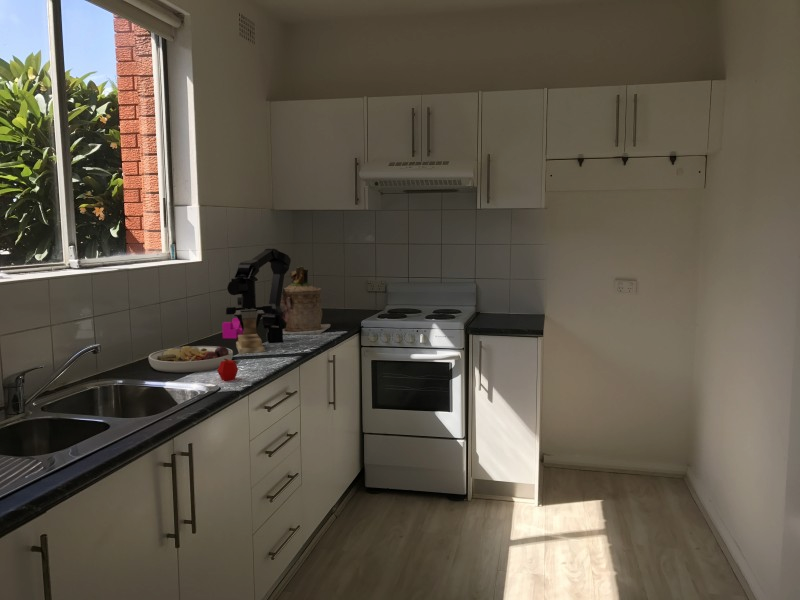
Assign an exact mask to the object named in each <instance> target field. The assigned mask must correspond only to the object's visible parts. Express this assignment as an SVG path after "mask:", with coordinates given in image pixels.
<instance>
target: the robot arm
mask: <svg viewBox="0 0 800 600" xmlns="http://www.w3.org/2000/svg"><path fill="white" fill-rule="evenodd" d="M291 261H292V259H291V257H290V256H289V254H286V253H284V252H281V251H279V250H278V249H277V248H271V247H270V248H265V249H264V251H262V252H260V253H259V254H258V255H256V256H255V257H254V258H252V259H249V260H243V261H241V262H240V263H238V266H237V267H236V271H235V273H234V276H233V277H232V278H230V279H231V280H230V282H228V284H227V292H228V293H229V294H230V295H231V296H239V295H241V297H237V299H236V301H237V307H236V305H231V306H230V305H227V306H226V307H225V314H226V315H233V316H234V317H236V318H238V320H239V321H240V324H241V327H242V330H244V326H243V314H242V313H247V312H248V313H249V312H256V317H255V318H256V331H257V330H258V327H259V325H260V322H261V321H262V325H263V328H264V329H267V331H266V342H268V344H280V343H284V334H283V329H285V328H286V325H287V323H286V322H285V320H284V319H283V313H284V312H283V311H282V308H281V305H280V302H281V301H282V291H283V289H284V288H283V287H284V279H285V275H286V274H287V272H288V271H289V270H290V266H291V263H292V262H291ZM267 263H270V269H271V271H272V279H271V287H270V293H269V298H268V299H269V300H268V304H261V306H257V300H256V298H257V296H256V282H257V281H259V280H258V278H257V277H256V275H258V274H259V272H260V269H261V268H262V267H263V266H264V265H266V264H267ZM238 306H239V307H238ZM240 306H241V307H240Z"/></svg>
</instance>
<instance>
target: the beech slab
mask: <svg viewBox="0 0 800 600" xmlns="http://www.w3.org/2000/svg"><path fill="white" fill-rule="evenodd" d="M235 347H236V349H237V351H238V354H239V355H244V354H245V355H246V354H247V353H248V354H260V353H261V354H262V353H266V352H265V351H266V349H265V348H266V347H265V346H264V345H263V343H262V347H260V348H244V349H242V348H241V346H240V345H239V343H238V341H236V342H235Z"/></svg>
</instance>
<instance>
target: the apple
mask: <svg viewBox="0 0 800 600" xmlns="http://www.w3.org/2000/svg"><path fill="white" fill-rule="evenodd" d="M224 360H226V361H221V363H220V366H219V368H217V373H218V375H219V377H220V380H222V381H223V380H224V382H231V381H230V380H233V381H235V379H236V376H237V374H238V372H239V368H238V366H237V364H236V361H235V360H228V359H225V358H224Z"/></svg>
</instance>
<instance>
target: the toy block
mask: <svg viewBox="0 0 800 600" xmlns="http://www.w3.org/2000/svg"><path fill="white" fill-rule="evenodd" d="M221 325H222V339H238V335H245V334H244V333H243V330H242V327H241V324H240V321H239V320H238V318H237V317H233V318H232V319H231V321H224V322H222V323H221Z"/></svg>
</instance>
